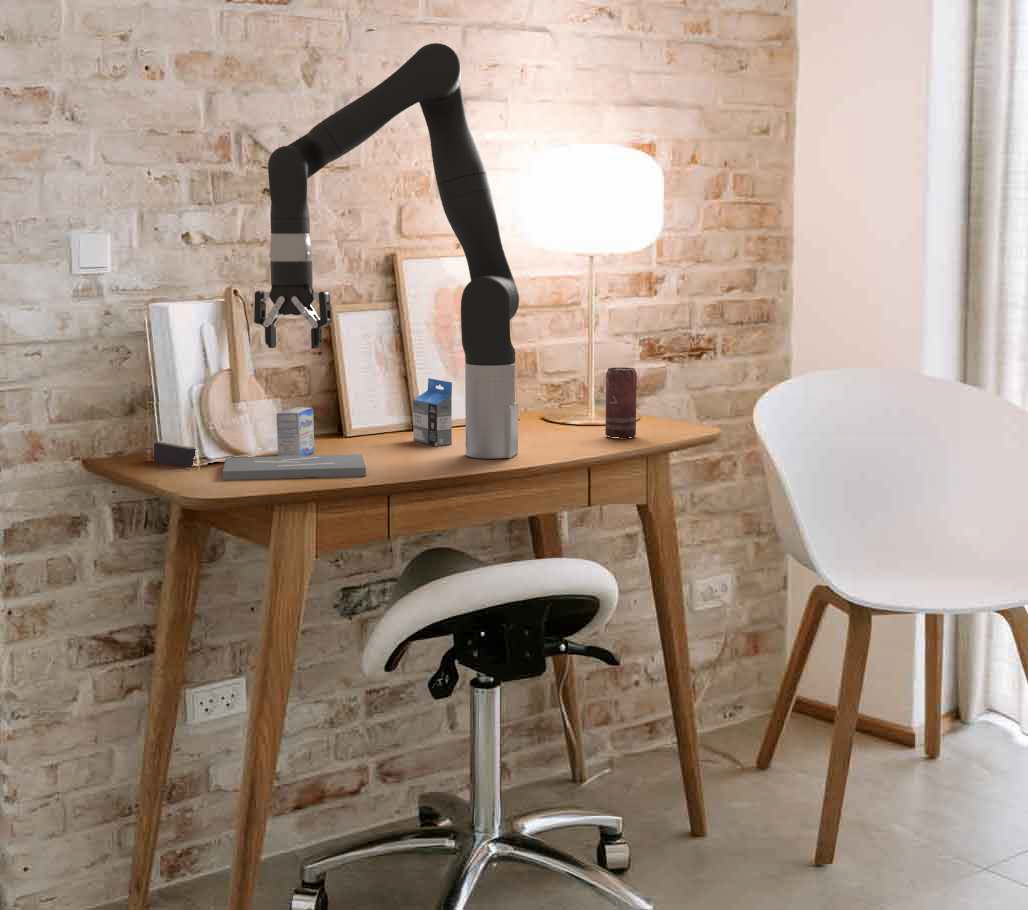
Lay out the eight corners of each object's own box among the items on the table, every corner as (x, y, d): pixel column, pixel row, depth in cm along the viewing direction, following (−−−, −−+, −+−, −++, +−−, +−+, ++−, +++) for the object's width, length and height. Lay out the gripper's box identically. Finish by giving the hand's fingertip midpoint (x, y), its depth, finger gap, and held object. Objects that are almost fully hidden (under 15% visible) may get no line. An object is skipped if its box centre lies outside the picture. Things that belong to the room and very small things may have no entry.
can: (628, 440, 273) (629, 370, 271) (600, 437, 277) (601, 368, 274) (642, 436, 278) (643, 367, 276) (614, 433, 282) (615, 366, 279)
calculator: (257, 439, 253) (187, 445, 242) (256, 462, 253) (187, 469, 242) (222, 433, 260) (153, 438, 249) (221, 456, 261) (152, 462, 250)
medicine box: (300, 459, 251) (299, 413, 249) (277, 459, 252) (275, 412, 250) (314, 453, 258) (313, 407, 257) (292, 452, 259) (291, 406, 258)
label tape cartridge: (412, 440, 273) (411, 379, 271) (428, 439, 275) (427, 378, 273) (436, 446, 266) (436, 383, 264) (453, 444, 268) (452, 382, 266)
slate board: (361, 462, 248) (361, 454, 248) (366, 476, 234) (365, 467, 234) (226, 465, 244) (226, 457, 244) (222, 480, 231) (222, 471, 230)
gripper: (335, 258, 251) (337, 347, 254) (263, 258, 254) (266, 345, 257) (320, 259, 244) (322, 350, 246) (246, 259, 247) (249, 349, 250)
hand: (293, 348), depth 252 cm, fingers open, 8 cm apart
